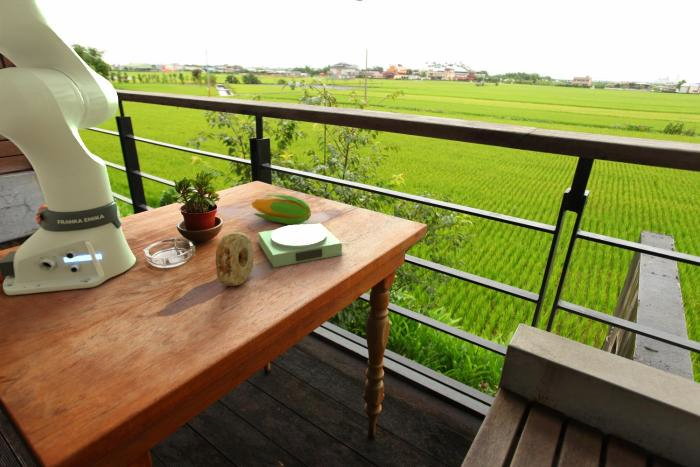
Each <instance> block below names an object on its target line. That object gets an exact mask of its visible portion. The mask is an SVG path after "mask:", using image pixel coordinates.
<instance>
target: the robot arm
mask: <svg viewBox="0 0 700 467" xmlns="http://www.w3.org/2000/svg"><path fill="white" fill-rule="evenodd" d="M365 1H366V0H356V2H357V3H359V4H362V3H363V2H365ZM0 54H1V55H3V56H4V57H5V58H6V59H8V60H9V61H10V62H11V63H12V64H13V65H14V66H10V67H4V68H1V69H0V135H1V136H3V137H5V138H6V139H7V140H9V141H10V142H12V144H14V145H15V146H16V147H17V148H18V150H20V151H21V153H22V154H23V155H24V156H25V157H26V159H27V160H28V162H29V163H30V165H31V166H32V169H33V170H34V172H35V175H36V178H37V180H38V183H39V187H40V189H41V192H42V196H43V198H44V201H45V203H43V204H41V205H40V207H39V208H38V209H37V210H38V211H37V213H36V217H35V220H36V224H38V225H39V227H40V228H38V229H37V230H36V231H35V232H34V233H33V234H32V235H31V236H29V238H27V239H26V240H25V241H24V242H23V243H22V244H21V245H20V246H19V247H18V248H17V249H16V250H14V251H9V252H8V253H7V254H6V255H5V256H4V257H2V258H1V259H0V274H1V276H2V277H5V278H4V280H3V282H2V289H3V292H4V294H5V295H7V296H17V295H29V294H38V293H47V292H49V293H50V292H57V291H58V292H59V291H69V290H77V289H79V290H80V289H89V288H95V287H97V286H100V285H101V284H102V283H104V282H106V281H107V280H109V279H111V278H113V277H116V276H118V275H121V274H123V273H124V272H126V271H128V270H129V269H131V268H132V267H133V266H134V265H135V264H136V262H137V257H136V256H135V255H134V253H133V251H132V250H131V247H130V246H129V243H128V241H127V238H126V237H125V234H124V232H123V229H122V222H123V221H122V216H121V212H120V207H119V205H118V202H117V199H116V198H114V196H113V195H114V194H113V191H112V185H111V182H110V177H109V172H108V168H107V165H106V163H105V161H104V160H103V159H102V158H101V157H99V156H98V155H95V154H93V153H91V152H90V151H89V149H88V148H87V147H86V146H85V143H84V142H83V140H82V138H81V136H80V134H79V131H81V130H85V129H92V128H95V127H98V126H100V125H102V124H104V123H106V122H107V121H110V120H111V119H112V118H113V117H114V116H115V115H116V114H117V112H118V109H119V108H118V107H119V98H118V94H117V92H116V90H115V88H114V86H113V84H112V83H111V82H110V81H109V80H108V79H106V78H105V77H104V76H102V75H100V74H99V73H97V72H96V71H95V70H94V69H93V68H91V67H90V66H89V65H88V63H86V62H85V61H84V60H83V58H81V56H80V55H79V54H78V53H77V52H76V51H75V50H74V48H73V47H72V46H71V45H70V44H69V42H68V41H67V40H66V39H65V37H64V36H63V35H62V34H61V32H60V31H59V30H58V27H56V25H55V24H54V22H53V21H52V18H50V16H49V14H48V12H47V10H46V8H45V6H44V4H43V2H42V1H41V0H0Z"/></svg>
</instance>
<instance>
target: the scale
mask: <svg viewBox="0 0 700 467" xmlns="http://www.w3.org/2000/svg"><path fill="white" fill-rule="evenodd" d="M257 234H258V244H259V245H260V247H261V250H263V253H264V254H265V256H266V257H267V259H268V261H269V262H270V264H271V265H272V267H273V268H279V267H283V266H284V267H285V266H289V265H294V264H300V263H305V262H311V261H316V260H317V261H318V260H321V259H326V258H333V257H336V256H342V255H343V243H342V241H341V240H339V239H338V238H337V237H336V236H335V235H333V233H332V232H330V231H329V230H328V228H326V227H325V226H324V225H323V224H321V223H320V222H319V223H313V224H297V225H286V226H282V227H278V228H275V229H271V230H264V231H258V232H257Z"/></svg>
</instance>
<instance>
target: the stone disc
mask: <svg viewBox="0 0 700 467" xmlns="http://www.w3.org/2000/svg"><path fill="white" fill-rule="evenodd" d="M254 256H255V254H254V248H253V244H252V241H251V238H249V236H248V235H247V234H245V233H243V232H238V231H237V232H230V233H226V234H225V235H223V236H222V238H221V239H220V241H219V242H218V244H217V246H216V251H215V266H216V267H215V270H216V273H215V274H216V277H217V280H218V281H219V282H220V283H221V284H222V285H224V286H230V287H234V286H239V285H242V284H243V283H244V282H245V281H246V280H247V279H248V277H250V275H251V273H252V271H253V266H254V261H255V257H254Z"/></svg>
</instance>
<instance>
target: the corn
mask: <svg viewBox="0 0 700 467" xmlns="http://www.w3.org/2000/svg"><path fill="white" fill-rule="evenodd" d="M266 196H268V197H269V198H268V197H267V198H266V197H265V198H257V199H255V200H253V201H252V202H251V206H252V208H254V209H255V210H256V211H257V212H258V213H257V212H256V213H254V216H256V217H259V218H261V219H264V220H266V221H270V222H273V223H277V224H278V223H279V224H284V225H288V226H290V225H301V224H302V223H305V222H307V221H308V220H309V219H310V218H311V216H312V211H311V208H310V206H309V204H308V203H307V202H306V201H305V200H304V199H301V198H298V197H295V196H292V195H286V194H285V195H284V194H276V193H275V194H273V193H272V194H270V193H269V194H266Z"/></svg>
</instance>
